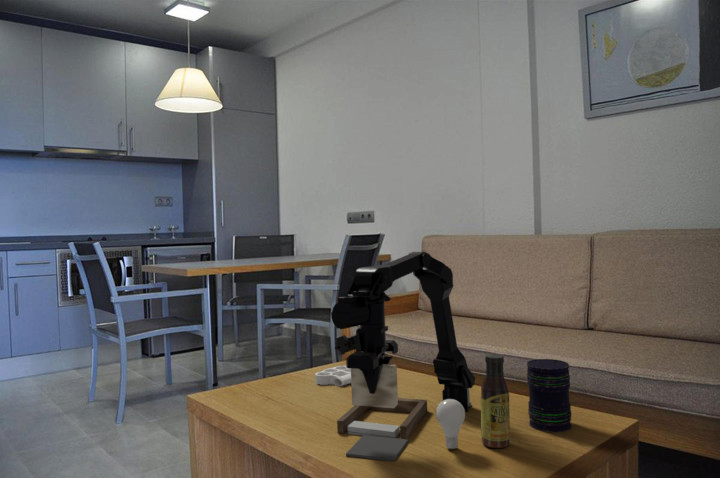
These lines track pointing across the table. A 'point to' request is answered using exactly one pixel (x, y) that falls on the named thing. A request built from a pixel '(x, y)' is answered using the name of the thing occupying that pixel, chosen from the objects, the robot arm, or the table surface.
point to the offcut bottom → (372, 434)
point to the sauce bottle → (495, 404)
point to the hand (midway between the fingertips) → (374, 391)
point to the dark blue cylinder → (549, 395)
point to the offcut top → (374, 428)
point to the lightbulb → (450, 420)
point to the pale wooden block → (384, 392)
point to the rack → (404, 405)
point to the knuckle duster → (334, 376)
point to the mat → (377, 448)
